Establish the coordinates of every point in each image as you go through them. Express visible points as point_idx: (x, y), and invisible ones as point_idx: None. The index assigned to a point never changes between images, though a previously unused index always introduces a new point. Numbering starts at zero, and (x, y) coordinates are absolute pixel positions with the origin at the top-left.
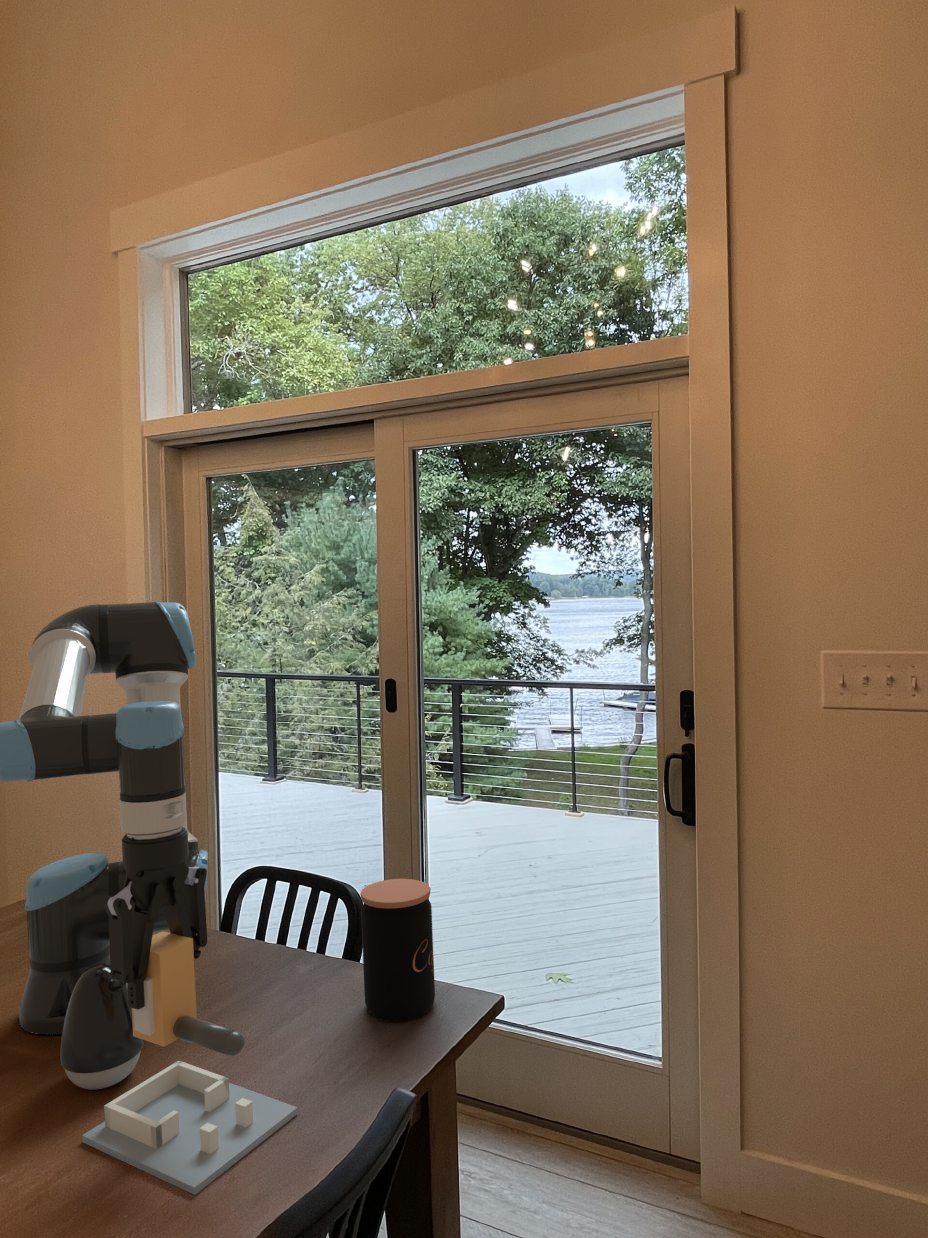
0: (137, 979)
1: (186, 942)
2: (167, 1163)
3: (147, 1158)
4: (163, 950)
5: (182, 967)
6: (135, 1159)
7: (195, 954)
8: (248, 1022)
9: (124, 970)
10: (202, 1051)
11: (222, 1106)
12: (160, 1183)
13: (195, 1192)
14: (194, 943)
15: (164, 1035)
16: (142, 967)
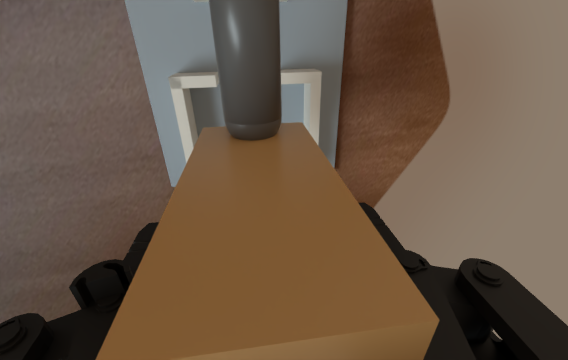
0: (426, 262)
1: (170, 352)
2: (329, 24)
3: (332, 62)
4: (377, 345)
5: (233, 225)
6: (340, 76)
7: (110, 280)
8: (33, 223)
9: (543, 310)
10: (129, 213)
11: (197, 65)
12: (348, 11)
13: None
14: (72, 347)
15: (304, 129)
16: (426, 300)
